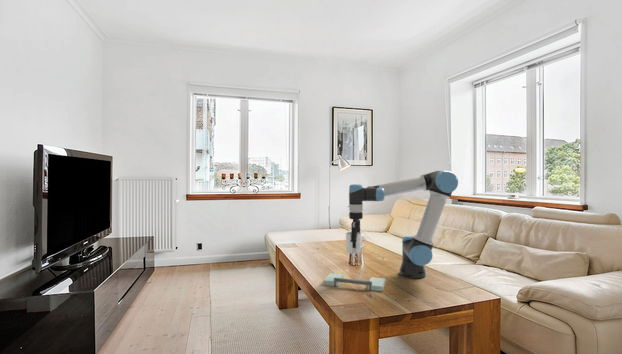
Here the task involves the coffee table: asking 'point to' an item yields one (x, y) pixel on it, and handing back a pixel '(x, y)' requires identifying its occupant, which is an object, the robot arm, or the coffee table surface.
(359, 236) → the mug
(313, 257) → the coffee table surface
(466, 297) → the coffee table surface
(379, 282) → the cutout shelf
